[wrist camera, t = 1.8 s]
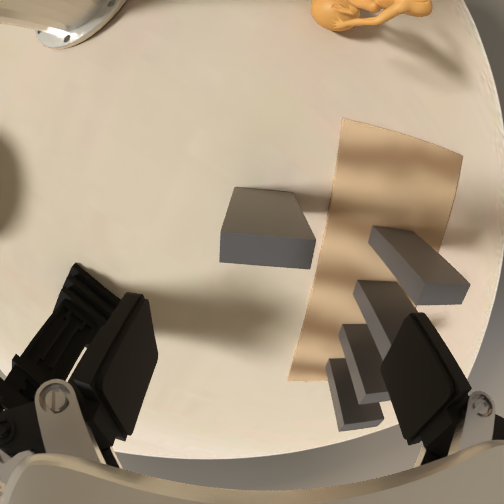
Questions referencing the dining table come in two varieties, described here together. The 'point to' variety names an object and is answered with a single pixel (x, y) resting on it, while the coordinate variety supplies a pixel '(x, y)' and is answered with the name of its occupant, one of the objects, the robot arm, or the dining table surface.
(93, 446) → the robot arm
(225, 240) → the domino
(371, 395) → the domino
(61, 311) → the chess piece
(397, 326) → the domino
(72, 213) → the dining table surface
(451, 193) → the cork mat
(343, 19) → the figurine
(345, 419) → the domino
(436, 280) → the domino
